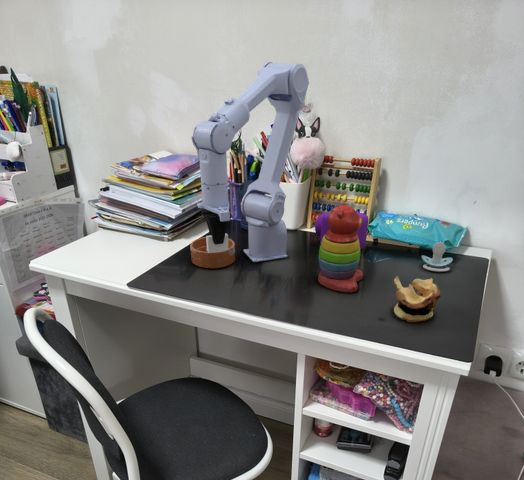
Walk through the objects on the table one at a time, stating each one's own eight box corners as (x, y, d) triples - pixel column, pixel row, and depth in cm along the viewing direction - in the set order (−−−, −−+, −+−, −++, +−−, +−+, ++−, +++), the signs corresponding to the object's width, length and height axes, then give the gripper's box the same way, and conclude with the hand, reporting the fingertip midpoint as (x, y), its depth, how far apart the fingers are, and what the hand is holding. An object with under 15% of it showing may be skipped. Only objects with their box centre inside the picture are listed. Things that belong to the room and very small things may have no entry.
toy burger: (429, 331, 97) (438, 293, 93) (381, 320, 101) (386, 283, 97) (441, 305, 106) (449, 270, 102) (396, 296, 110) (401, 261, 105)
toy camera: (325, 235, 141) (328, 200, 136) (369, 246, 135) (374, 209, 129) (305, 247, 134) (307, 210, 128) (350, 259, 127) (355, 221, 122)
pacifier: (451, 275, 120) (450, 264, 125) (457, 250, 116) (455, 240, 121) (420, 272, 121) (419, 261, 126) (425, 248, 117) (424, 238, 122)
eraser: (206, 250, 115) (206, 235, 113) (226, 248, 117) (226, 233, 115) (208, 252, 114) (207, 237, 112) (228, 250, 116) (228, 235, 114)
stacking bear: (355, 294, 111) (364, 216, 101) (311, 287, 114) (316, 210, 104) (364, 275, 119) (373, 201, 109) (323, 269, 122) (328, 196, 112)
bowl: (227, 250, 132) (226, 234, 130) (241, 266, 124) (240, 249, 121) (187, 256, 129) (185, 239, 126) (198, 272, 120) (196, 255, 118)
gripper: (188, 175, 111) (192, 233, 119) (205, 193, 100) (209, 256, 108) (218, 172, 114) (221, 230, 121) (238, 189, 102) (240, 251, 110)
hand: (217, 242), depth 114 cm, fingers closed on eraser, 1 cm apart
